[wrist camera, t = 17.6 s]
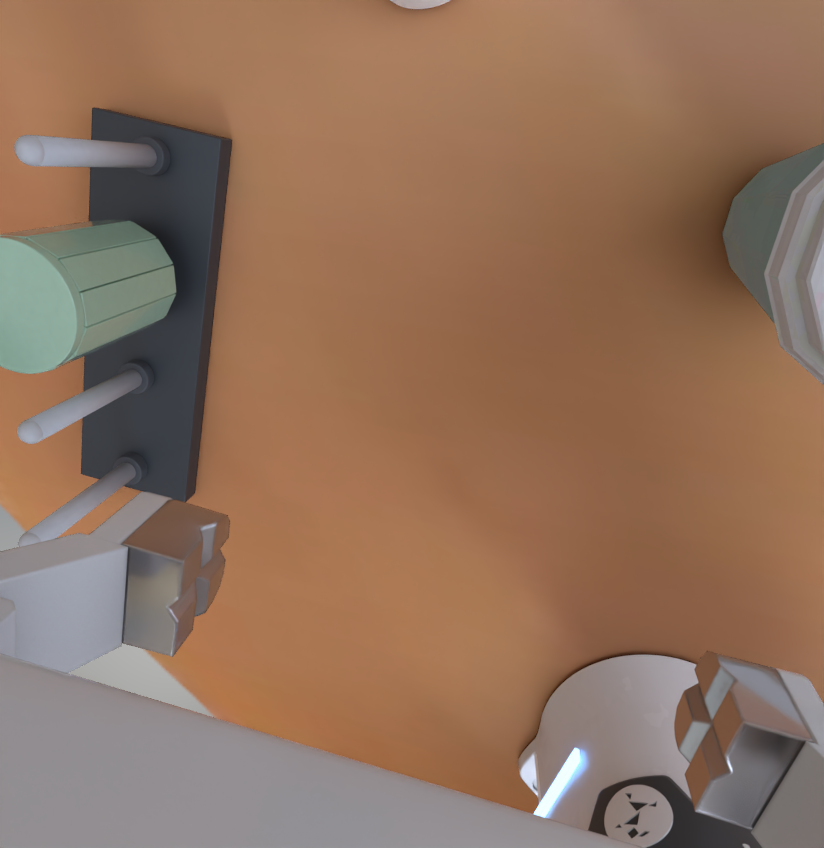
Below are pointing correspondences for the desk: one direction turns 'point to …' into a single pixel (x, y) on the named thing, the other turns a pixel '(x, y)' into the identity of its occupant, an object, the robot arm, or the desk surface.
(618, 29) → the desk surface
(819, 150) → the disposable coffee cup
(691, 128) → the desk surface
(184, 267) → the dish rack
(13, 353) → the cup
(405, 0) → the can
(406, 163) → the desk surface
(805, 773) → the robot arm
